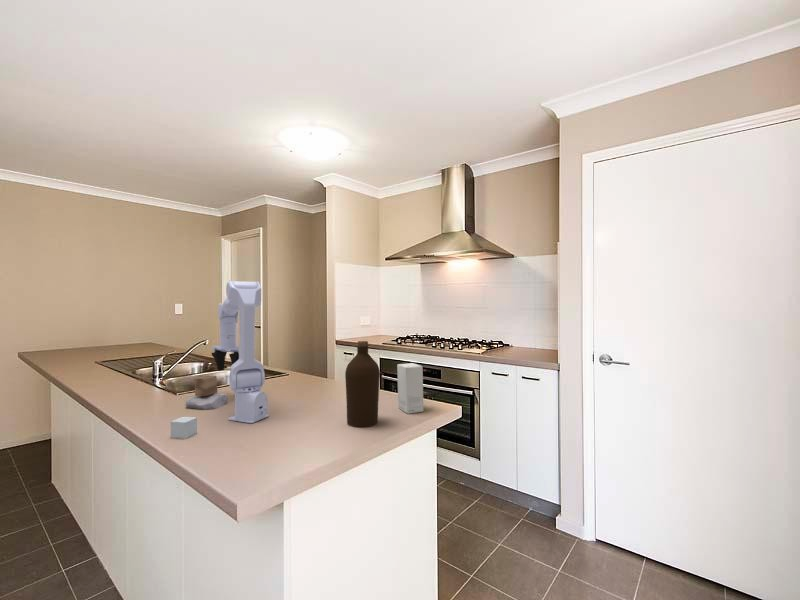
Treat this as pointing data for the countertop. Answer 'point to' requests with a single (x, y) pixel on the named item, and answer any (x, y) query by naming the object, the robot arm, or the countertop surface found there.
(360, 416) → the olive oil
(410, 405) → the skincare box
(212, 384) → the walnut block
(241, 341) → the robot arm
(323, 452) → the countertop surface
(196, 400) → the stone block
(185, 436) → the blue-grey block
